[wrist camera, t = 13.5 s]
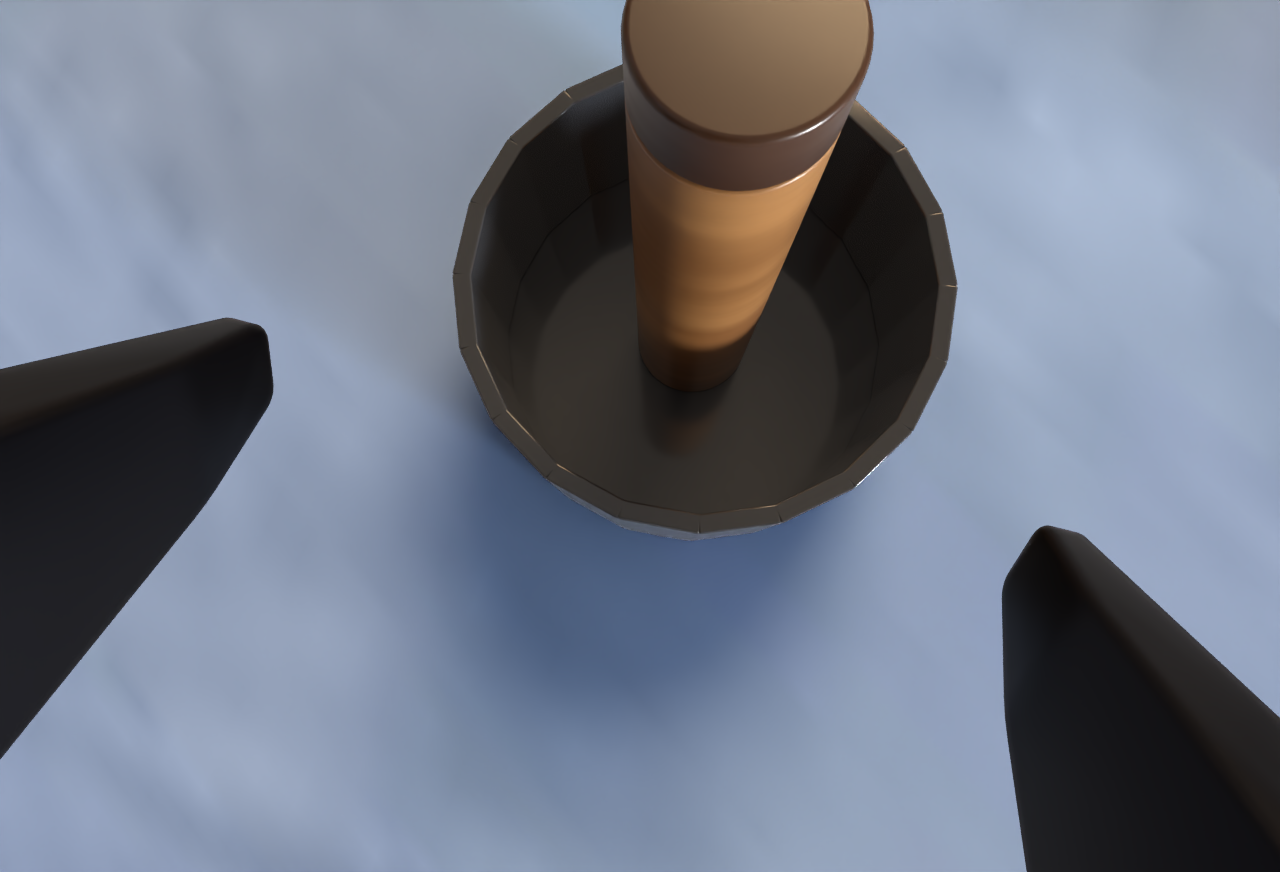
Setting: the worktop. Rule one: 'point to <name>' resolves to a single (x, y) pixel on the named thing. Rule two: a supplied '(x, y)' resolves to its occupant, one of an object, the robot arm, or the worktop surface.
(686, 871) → the worktop surface
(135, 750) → the worktop surface
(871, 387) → the bowl
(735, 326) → the stick
